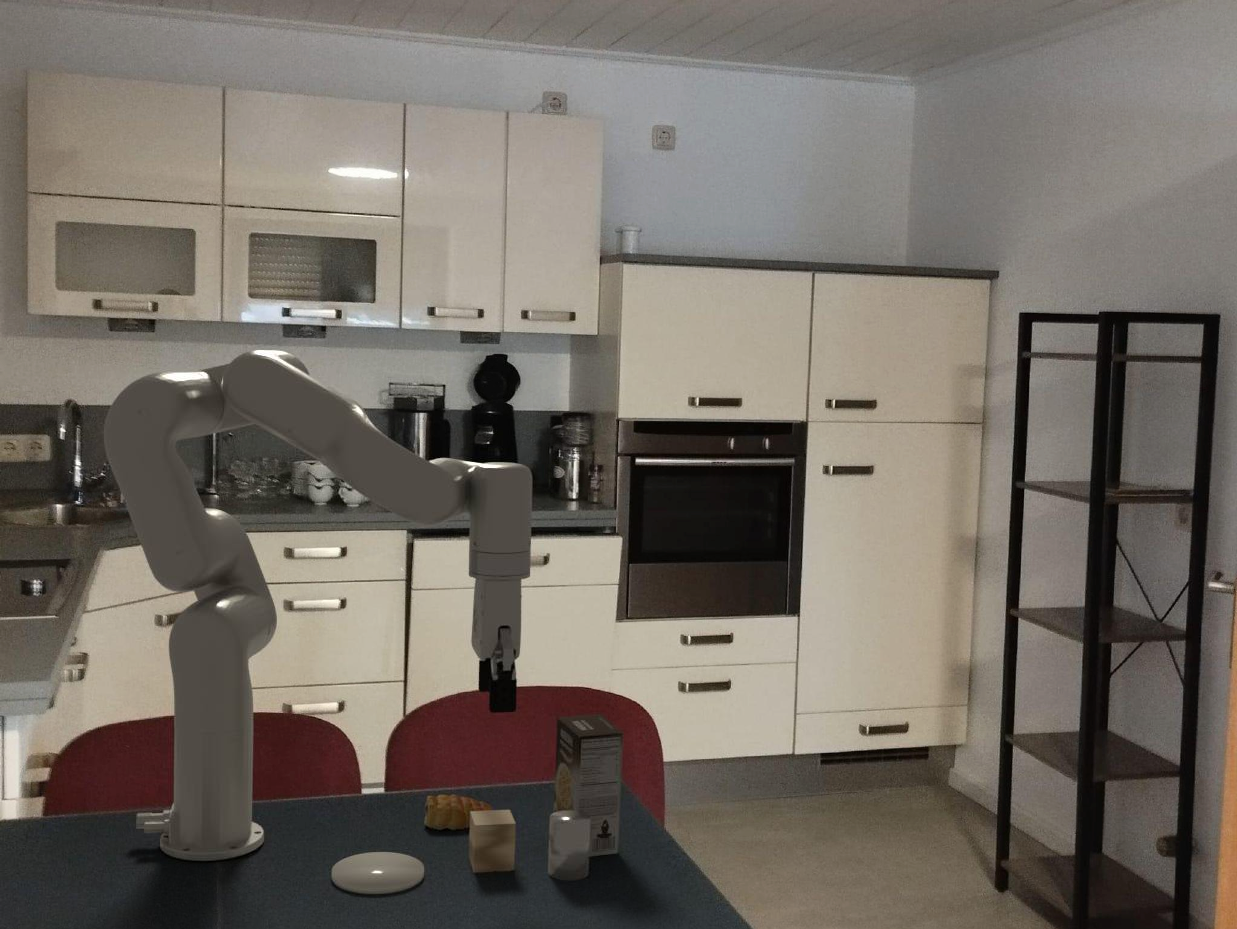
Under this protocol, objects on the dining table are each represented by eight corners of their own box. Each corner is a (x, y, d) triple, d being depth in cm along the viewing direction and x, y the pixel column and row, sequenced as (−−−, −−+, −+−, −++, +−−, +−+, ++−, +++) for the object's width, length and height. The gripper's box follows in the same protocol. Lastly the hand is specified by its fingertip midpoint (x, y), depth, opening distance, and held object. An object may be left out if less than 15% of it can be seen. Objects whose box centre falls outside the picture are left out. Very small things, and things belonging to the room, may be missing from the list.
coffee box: (550, 834, 178) (554, 715, 176) (595, 829, 180) (600, 712, 179) (573, 859, 169) (578, 735, 168) (620, 854, 172) (625, 731, 170)
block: (473, 872, 164) (475, 825, 163) (468, 857, 169) (470, 811, 168) (514, 870, 165) (515, 823, 164) (508, 855, 170) (509, 809, 169)
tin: (551, 881, 162) (553, 825, 161) (544, 865, 167) (546, 811, 166) (592, 879, 163) (594, 823, 163) (583, 863, 168) (585, 809, 167)
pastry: (490, 813, 185) (491, 786, 185) (496, 831, 179) (496, 803, 178) (422, 816, 183) (422, 788, 183) (425, 834, 177) (425, 806, 176)
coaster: (332, 896, 155) (332, 889, 155) (330, 860, 166) (330, 854, 166) (427, 891, 158) (428, 884, 158) (420, 856, 168) (420, 850, 168)
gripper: (460, 553, 171) (458, 684, 173) (478, 576, 154) (475, 721, 156) (518, 552, 173) (515, 682, 174) (542, 575, 156) (538, 719, 158)
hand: (496, 701), depth 165 cm, fingers open, 9 cm apart
